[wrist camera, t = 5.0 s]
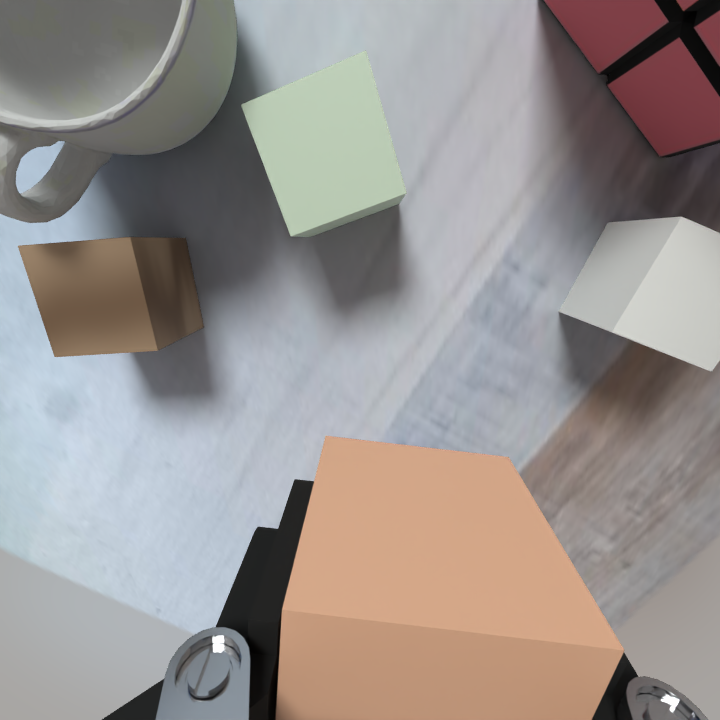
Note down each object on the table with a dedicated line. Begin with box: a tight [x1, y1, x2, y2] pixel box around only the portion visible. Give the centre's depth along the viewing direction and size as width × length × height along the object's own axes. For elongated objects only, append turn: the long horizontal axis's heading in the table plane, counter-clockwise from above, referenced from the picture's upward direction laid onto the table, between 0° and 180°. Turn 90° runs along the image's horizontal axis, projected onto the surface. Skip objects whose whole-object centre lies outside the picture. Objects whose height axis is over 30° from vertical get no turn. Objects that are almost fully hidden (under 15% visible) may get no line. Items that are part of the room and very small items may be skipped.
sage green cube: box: [241, 51, 406, 237], centre depth 17 cm, size 5×5×5 cm
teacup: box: [0, 0, 237, 223], centre depth 14 cm, size 14×11×8 cm
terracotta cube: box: [276, 436, 624, 720], centre depth 9 cm, size 5×5×5 cm
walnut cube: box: [18, 237, 204, 357], centre depth 19 cm, size 5×5×5 cm
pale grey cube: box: [559, 217, 720, 372], centre depth 18 cm, size 5×5×5 cm
